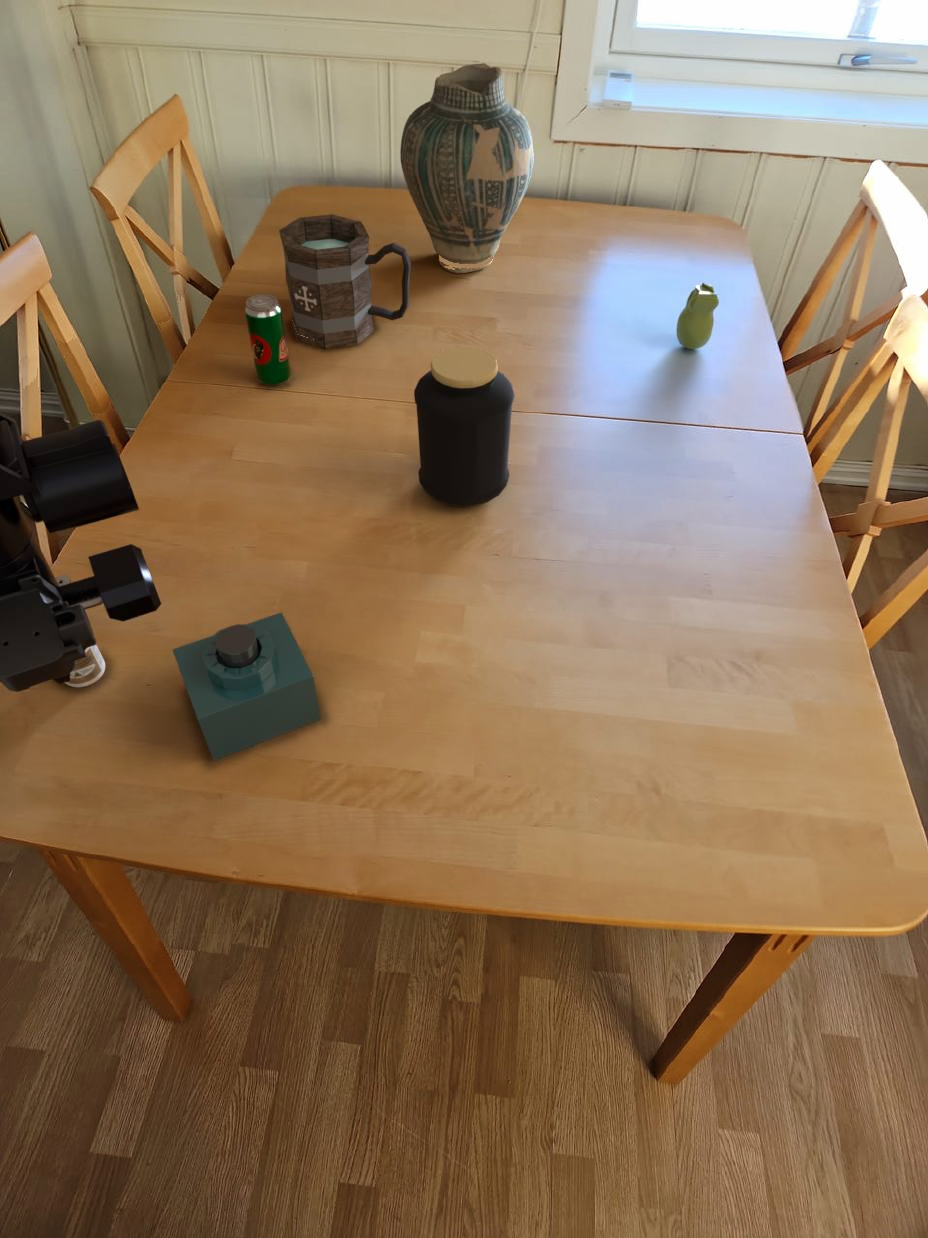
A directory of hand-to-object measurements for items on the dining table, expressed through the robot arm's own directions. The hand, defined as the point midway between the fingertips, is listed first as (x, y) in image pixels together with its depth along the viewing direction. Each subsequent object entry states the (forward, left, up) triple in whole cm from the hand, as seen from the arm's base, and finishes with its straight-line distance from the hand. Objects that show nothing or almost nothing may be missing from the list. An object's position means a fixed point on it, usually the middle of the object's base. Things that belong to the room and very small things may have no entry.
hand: (64, 678), depth 69 cm
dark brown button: (+13, -6, -4) cm, 15 cm away
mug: (+74, +37, -13) cm, 84 cm away
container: (+54, -1, -13) cm, 56 cm away
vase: (+105, +38, -13) cm, 112 cm away
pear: (+105, -8, -13) cm, 106 cm away
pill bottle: (+5, +11, -13) cm, 18 cm away
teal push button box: (+13, -6, -13) cm, 19 cm away
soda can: (+56, +36, -13) cm, 68 cm away
